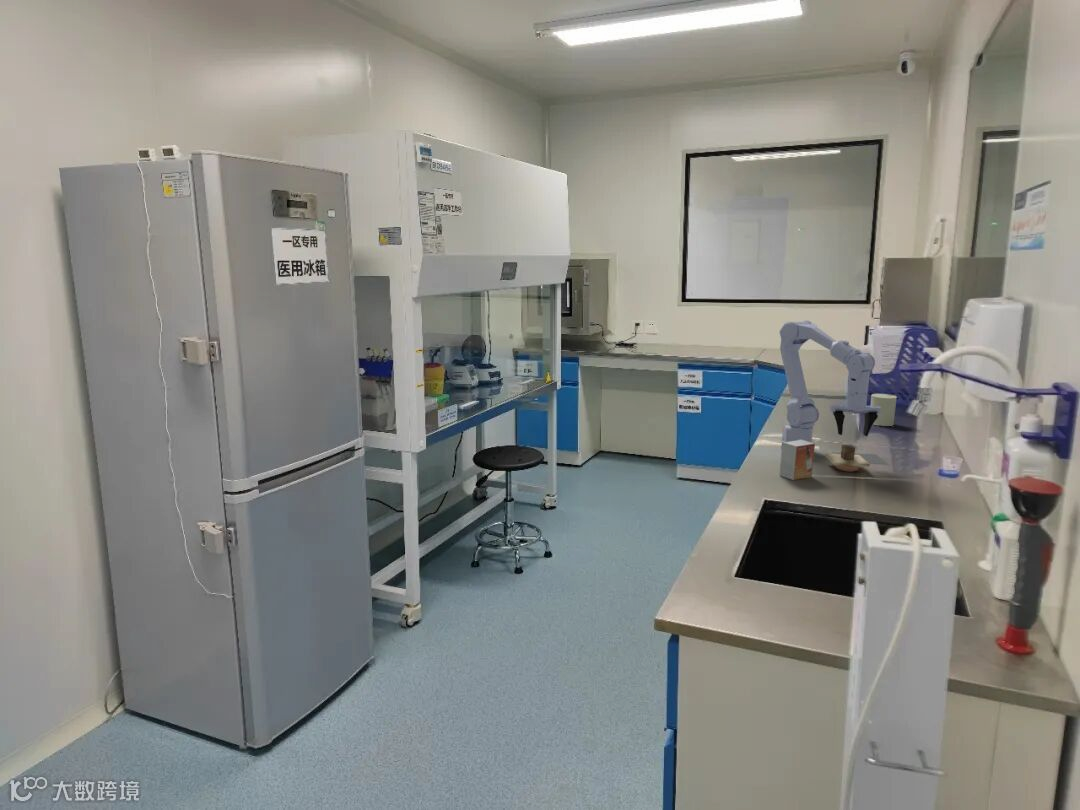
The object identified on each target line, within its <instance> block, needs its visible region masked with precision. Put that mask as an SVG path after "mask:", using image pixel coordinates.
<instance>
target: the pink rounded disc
mask: <svg viewBox="0 0 1080 810" xmlns="http://www.w3.org/2000/svg"><path fill="white" fill-rule="evenodd" d="M834 468H835V469H837V470H839V471H842V472H851V473H853V472H855V471H856V472H857V471H859V470H860V466H845V465H834Z"/></svg>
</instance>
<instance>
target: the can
mask: <svg viewBox="0 0 1080 810" xmlns="http://www.w3.org/2000/svg"><path fill="white" fill-rule="evenodd" d="M870 396H871V397H870V406H879V407H881V414H877V415H878V418H877V419H876V420H875V422H874V423H873V424H874V425H882V426H892V425H894V424H895V415H896V413H895V412H896V404H897V398H898V396H896V395H893V394H887V393H872V394H871V395H870ZM874 425H873V426H874ZM894 426H895V425H894ZM892 427H893V426H892Z"/></svg>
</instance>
